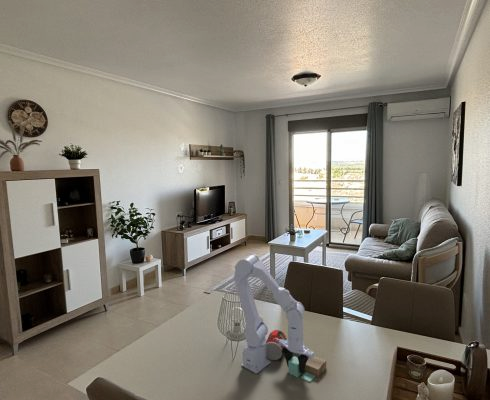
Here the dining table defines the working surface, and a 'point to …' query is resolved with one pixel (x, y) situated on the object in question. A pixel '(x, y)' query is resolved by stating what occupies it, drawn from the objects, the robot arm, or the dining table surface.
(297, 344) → the robot arm
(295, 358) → the teal block
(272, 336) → the canned food
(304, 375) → the swatch
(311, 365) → the walnut base
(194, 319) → the dining table surface
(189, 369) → the dining table surface
